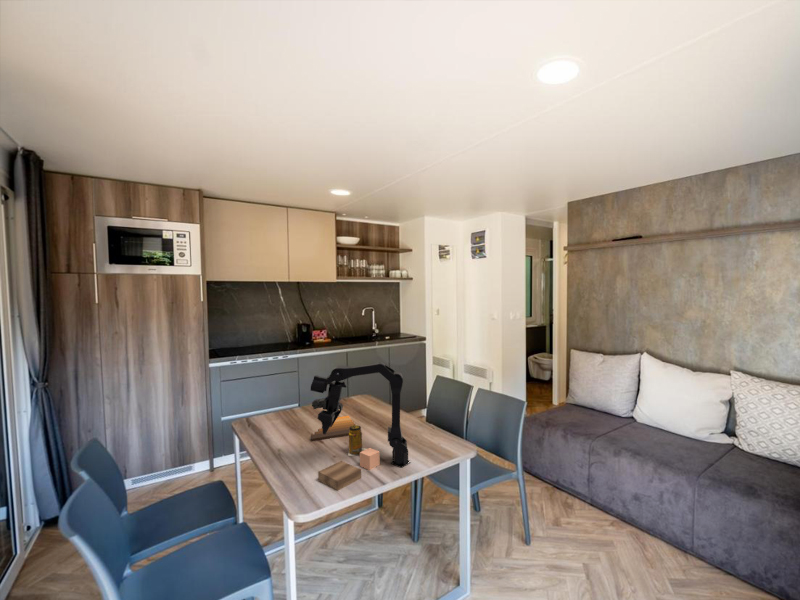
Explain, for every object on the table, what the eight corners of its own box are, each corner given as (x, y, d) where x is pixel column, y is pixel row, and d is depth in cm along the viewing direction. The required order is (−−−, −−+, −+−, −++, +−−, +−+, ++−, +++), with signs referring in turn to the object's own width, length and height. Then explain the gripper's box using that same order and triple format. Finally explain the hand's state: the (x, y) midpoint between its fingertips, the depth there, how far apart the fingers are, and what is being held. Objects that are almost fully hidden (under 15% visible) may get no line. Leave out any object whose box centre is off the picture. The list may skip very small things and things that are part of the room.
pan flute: (311, 442, 185) (359, 435, 195) (311, 436, 185) (359, 428, 195) (305, 426, 209) (348, 420, 218) (305, 420, 208) (348, 414, 218)
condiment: (348, 449, 176) (348, 424, 176) (366, 448, 177) (366, 423, 176) (348, 456, 169) (347, 430, 168) (366, 455, 169) (366, 429, 169)
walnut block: (361, 479, 148) (361, 469, 148) (338, 491, 139) (338, 481, 139) (341, 470, 156) (341, 460, 156) (318, 481, 147) (318, 471, 147)
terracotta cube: (379, 465, 159) (379, 451, 159) (369, 470, 155) (369, 456, 155) (369, 461, 163) (369, 447, 163) (359, 466, 159) (359, 452, 159)
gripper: (322, 386, 170) (316, 419, 170) (309, 396, 151) (301, 433, 152) (346, 391, 169) (339, 424, 169) (335, 402, 150) (327, 439, 150)
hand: (327, 430), depth 160 cm, fingers open, 9 cm apart
